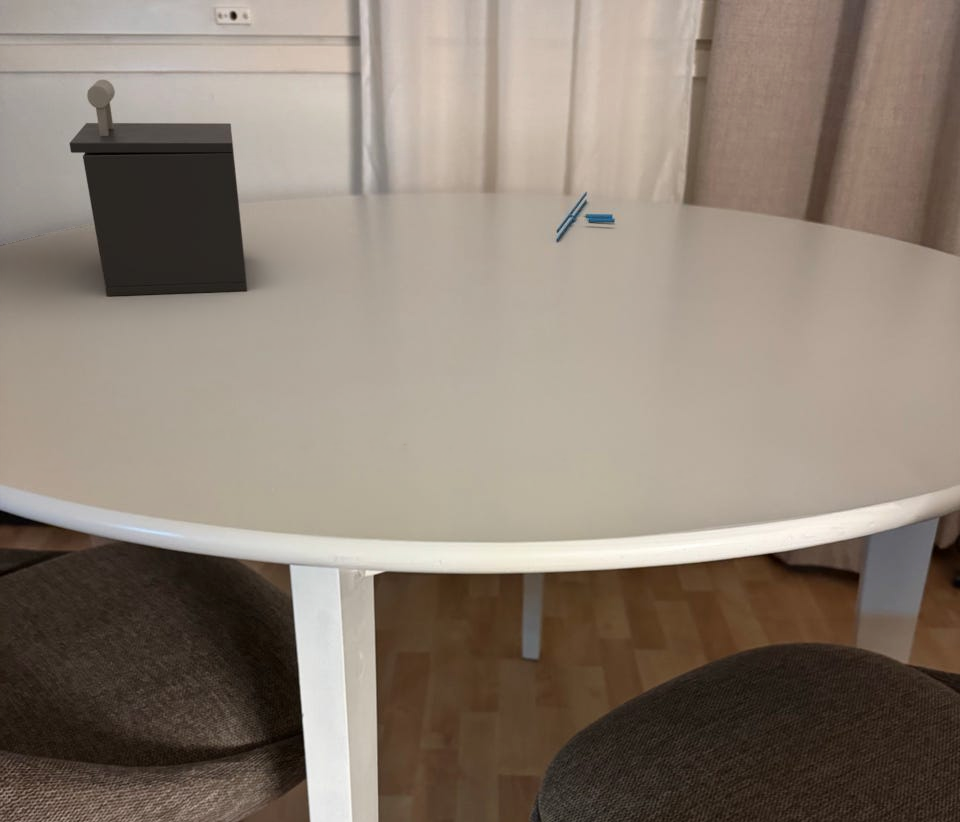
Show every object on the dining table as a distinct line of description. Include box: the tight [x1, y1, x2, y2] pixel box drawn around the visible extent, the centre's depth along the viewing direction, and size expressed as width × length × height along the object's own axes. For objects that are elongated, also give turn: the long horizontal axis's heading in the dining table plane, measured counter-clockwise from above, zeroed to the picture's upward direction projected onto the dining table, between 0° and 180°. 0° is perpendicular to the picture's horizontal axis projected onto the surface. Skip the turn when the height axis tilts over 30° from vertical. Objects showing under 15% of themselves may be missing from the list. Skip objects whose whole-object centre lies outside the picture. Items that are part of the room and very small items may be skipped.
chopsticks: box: [555, 191, 616, 243], centre depth 128 cm, size 1×25×5 cm
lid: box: [69, 79, 234, 154], centre depth 96 cm, size 14×14×5 cm
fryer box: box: [82, 140, 248, 297], centre depth 100 cm, size 13×14×12 cm
